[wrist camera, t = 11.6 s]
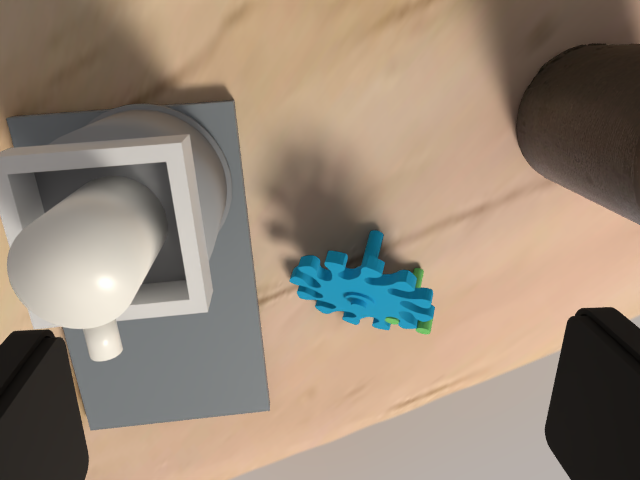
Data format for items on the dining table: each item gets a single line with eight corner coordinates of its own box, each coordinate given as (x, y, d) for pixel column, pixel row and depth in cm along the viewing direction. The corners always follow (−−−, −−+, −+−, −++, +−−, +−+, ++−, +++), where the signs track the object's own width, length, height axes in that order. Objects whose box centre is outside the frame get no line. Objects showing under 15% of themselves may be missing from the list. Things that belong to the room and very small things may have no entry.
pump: (57, 180, 26) (-9, 220, 20) (158, 171, 26) (124, 209, 20) (88, 305, 28) (38, 375, 22) (180, 296, 29) (156, 362, 23)
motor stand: (12, 111, 33) (-113, 141, 22) (233, 95, 34) (216, 117, 23) (94, 421, 42) (33, 552, 31) (269, 402, 42) (269, 523, 32)
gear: (261, 289, 37) (344, 256, 29) (286, 220, 40) (368, 173, 32) (376, 349, 41) (476, 335, 34) (392, 283, 44) (487, 256, 36)
